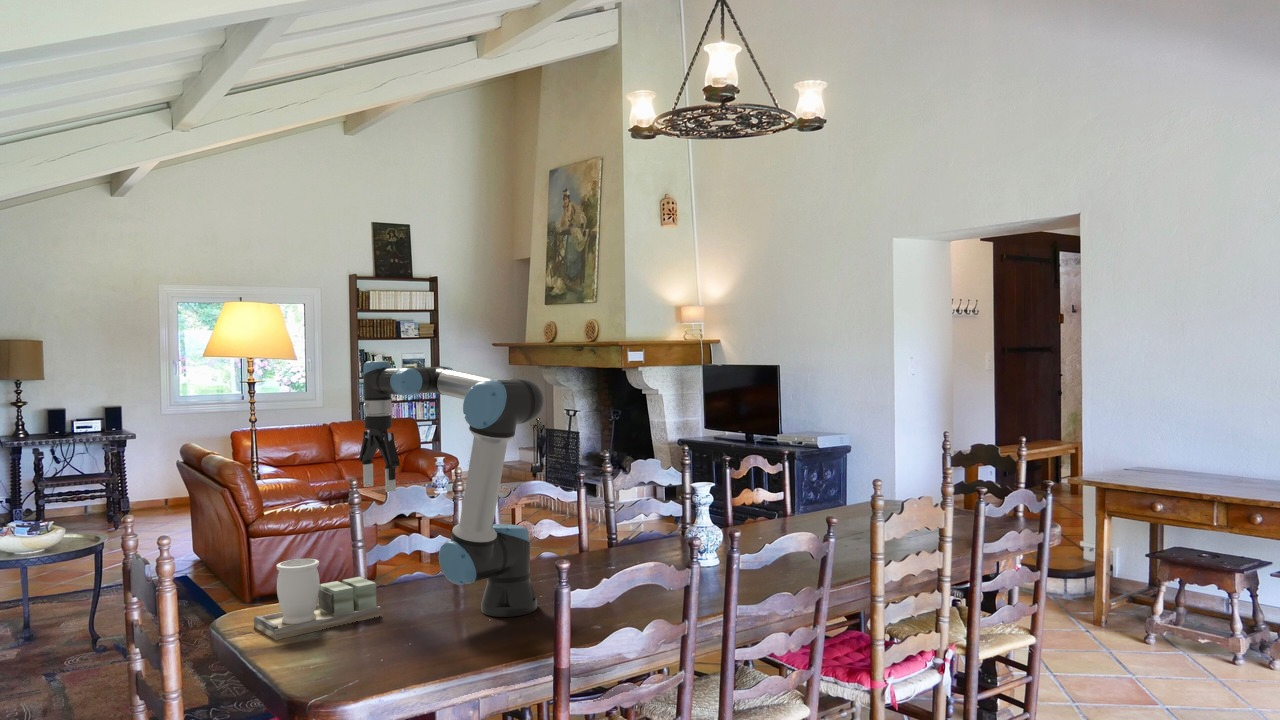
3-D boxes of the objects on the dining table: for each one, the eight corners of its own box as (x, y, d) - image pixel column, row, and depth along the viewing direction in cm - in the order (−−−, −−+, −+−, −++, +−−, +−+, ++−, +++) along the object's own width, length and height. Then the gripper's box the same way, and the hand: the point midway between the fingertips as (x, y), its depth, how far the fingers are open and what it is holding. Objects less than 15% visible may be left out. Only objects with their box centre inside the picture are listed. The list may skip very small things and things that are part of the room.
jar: (305, 627, 231) (304, 568, 231) (268, 625, 233) (267, 566, 233) (328, 615, 241) (327, 558, 241) (292, 613, 243) (291, 557, 243)
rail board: (380, 616, 245) (380, 584, 245) (276, 640, 226) (275, 605, 226) (355, 605, 256) (355, 575, 256) (253, 627, 237) (253, 594, 237)
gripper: (346, 413, 267) (347, 486, 268) (386, 417, 249) (387, 495, 249) (370, 412, 273) (371, 483, 273) (411, 416, 254) (412, 491, 254)
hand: (379, 489), depth 261 cm, fingers open, 13 cm apart
